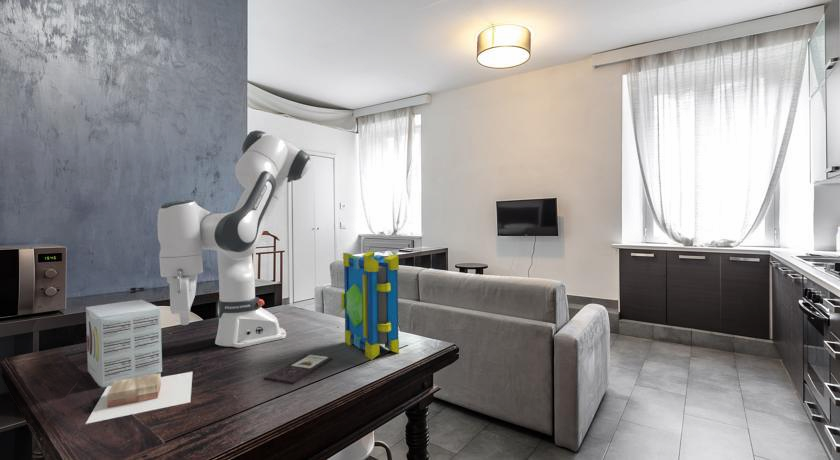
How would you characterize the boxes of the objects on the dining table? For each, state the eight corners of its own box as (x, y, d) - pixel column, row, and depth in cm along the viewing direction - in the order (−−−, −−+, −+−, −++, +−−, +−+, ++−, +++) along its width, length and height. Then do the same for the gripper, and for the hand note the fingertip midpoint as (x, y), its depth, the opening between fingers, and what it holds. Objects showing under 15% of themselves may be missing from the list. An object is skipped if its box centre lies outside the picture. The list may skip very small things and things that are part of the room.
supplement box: (85, 373, 104) (83, 306, 104) (144, 359, 115) (142, 298, 114) (100, 391, 93) (98, 316, 93) (163, 373, 104) (162, 306, 103)
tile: (160, 373, 95) (114, 381, 90) (157, 385, 88) (107, 394, 83) (161, 385, 95) (114, 393, 90) (157, 398, 88) (107, 408, 83)
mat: (192, 373, 103) (192, 371, 103) (190, 404, 86) (190, 402, 86) (107, 388, 94) (107, 386, 94) (85, 426, 77) (85, 423, 77)
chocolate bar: (263, 377, 99) (306, 354, 116) (264, 381, 99) (306, 357, 116) (293, 382, 96) (332, 357, 113) (293, 385, 96) (332, 360, 113)
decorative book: (374, 335, 136) (373, 250, 135) (408, 353, 117) (407, 255, 116) (336, 342, 128) (334, 252, 128) (365, 363, 109) (364, 258, 108)
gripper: (194, 271, 86) (197, 332, 86) (199, 261, 104) (202, 312, 105) (160, 274, 83) (164, 337, 83) (171, 263, 101) (174, 316, 102)
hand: (185, 323), depth 94 cm, fingers closed
